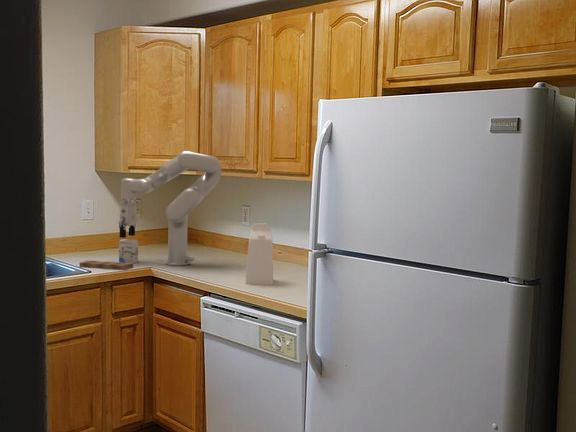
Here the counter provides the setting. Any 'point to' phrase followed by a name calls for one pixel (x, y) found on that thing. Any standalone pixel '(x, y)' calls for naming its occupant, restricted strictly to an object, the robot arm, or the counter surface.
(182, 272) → the counter surface
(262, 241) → the milk
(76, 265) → the counter surface
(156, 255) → the counter surface
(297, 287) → the counter surface
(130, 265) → the board
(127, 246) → the ink box
